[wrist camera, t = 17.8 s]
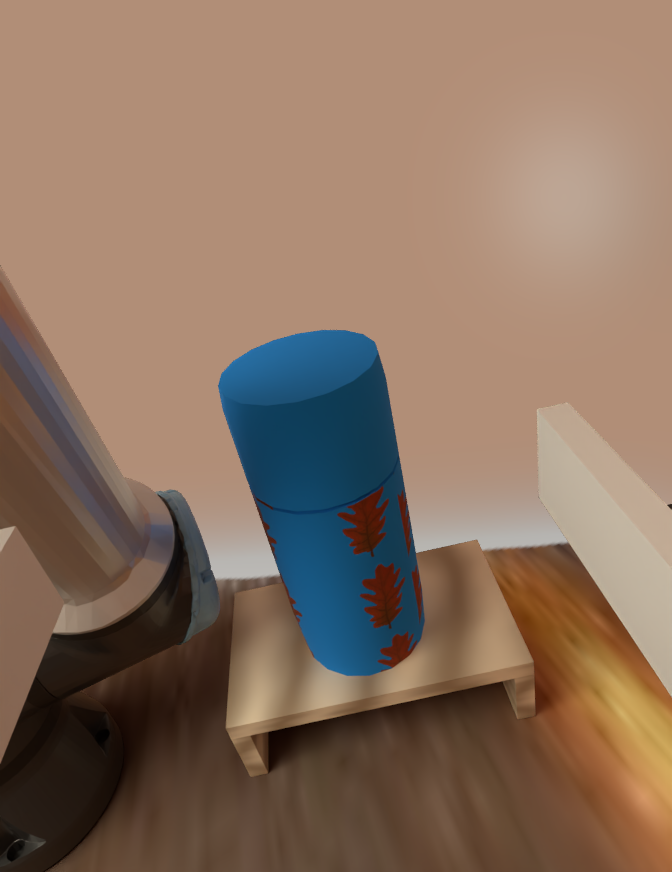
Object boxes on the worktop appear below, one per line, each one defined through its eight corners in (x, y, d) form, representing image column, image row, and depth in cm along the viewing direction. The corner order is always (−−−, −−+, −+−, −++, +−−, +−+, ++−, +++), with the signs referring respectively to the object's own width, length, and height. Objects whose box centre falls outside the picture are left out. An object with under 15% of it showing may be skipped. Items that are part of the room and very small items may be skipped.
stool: (250, 776, 48) (225, 728, 44) (254, 639, 60) (234, 593, 56) (535, 715, 48) (533, 662, 44) (481, 590, 60) (477, 539, 56)
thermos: (287, 607, 53) (201, 364, 40) (389, 559, 56) (340, 316, 43) (331, 702, 44) (239, 428, 31) (451, 640, 47) (411, 363, 34)
